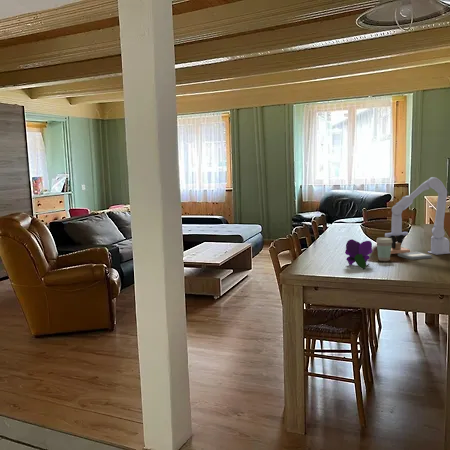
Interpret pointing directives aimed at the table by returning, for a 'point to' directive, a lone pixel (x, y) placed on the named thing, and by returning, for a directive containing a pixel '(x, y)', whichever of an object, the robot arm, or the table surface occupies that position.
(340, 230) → the table surface
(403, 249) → the pink panel with block
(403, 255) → the ticket board
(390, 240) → the coffee cup
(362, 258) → the flower
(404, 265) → the table surface
